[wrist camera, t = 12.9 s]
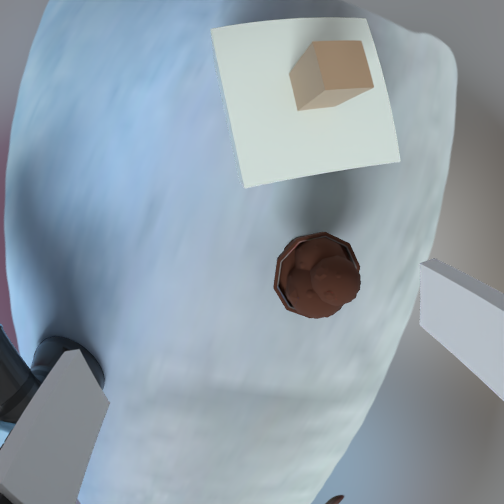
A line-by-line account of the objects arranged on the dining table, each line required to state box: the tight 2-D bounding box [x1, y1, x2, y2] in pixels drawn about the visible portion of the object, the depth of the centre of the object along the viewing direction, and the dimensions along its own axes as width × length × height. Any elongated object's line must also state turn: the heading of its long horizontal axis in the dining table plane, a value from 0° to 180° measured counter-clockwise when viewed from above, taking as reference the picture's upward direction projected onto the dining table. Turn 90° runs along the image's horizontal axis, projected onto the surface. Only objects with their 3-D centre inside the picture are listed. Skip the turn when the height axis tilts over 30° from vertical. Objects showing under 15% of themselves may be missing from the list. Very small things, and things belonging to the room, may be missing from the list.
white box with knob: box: [210, 17, 401, 188], centre depth 29 cm, size 17×17×22 cm
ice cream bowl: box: [274, 232, 361, 319], centre depth 39 cm, size 11×11×15 cm
